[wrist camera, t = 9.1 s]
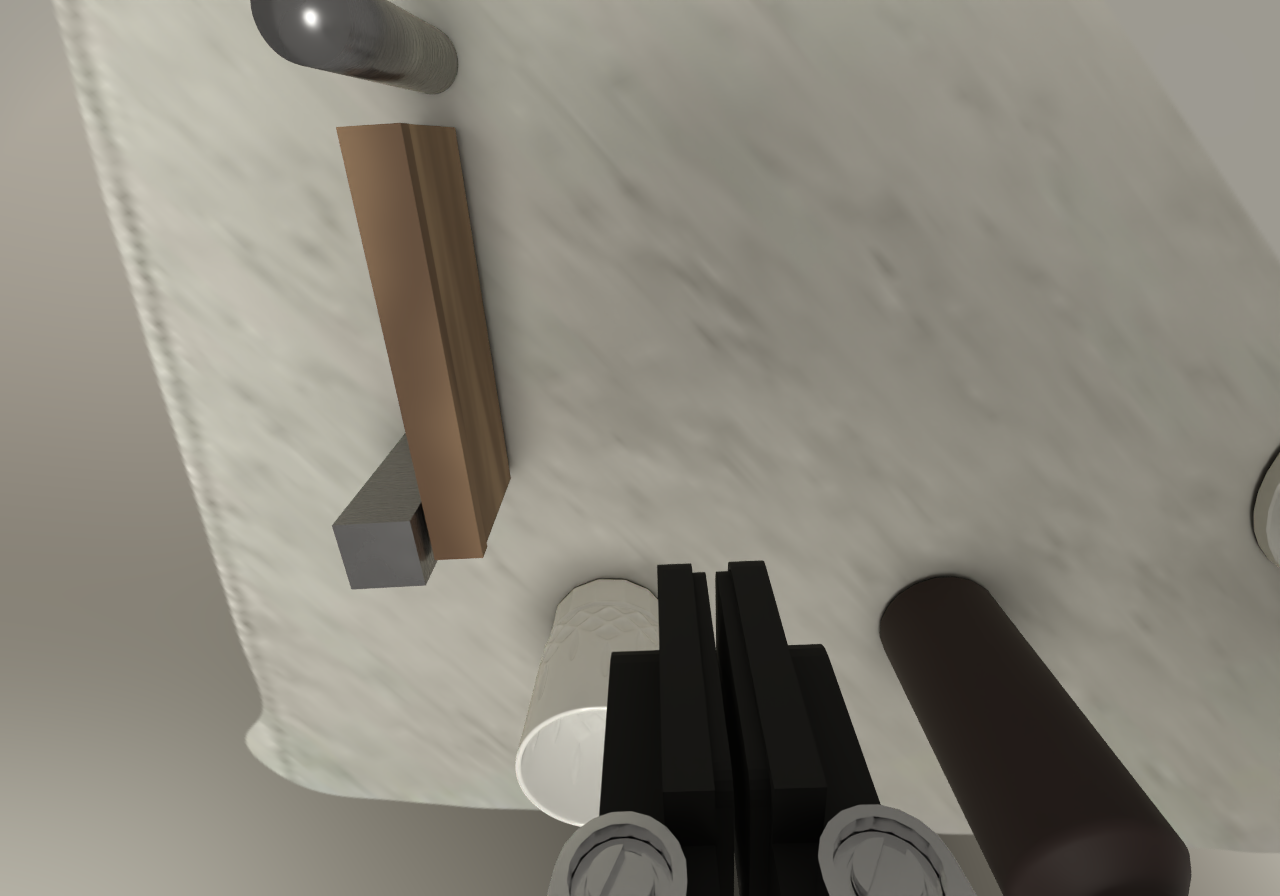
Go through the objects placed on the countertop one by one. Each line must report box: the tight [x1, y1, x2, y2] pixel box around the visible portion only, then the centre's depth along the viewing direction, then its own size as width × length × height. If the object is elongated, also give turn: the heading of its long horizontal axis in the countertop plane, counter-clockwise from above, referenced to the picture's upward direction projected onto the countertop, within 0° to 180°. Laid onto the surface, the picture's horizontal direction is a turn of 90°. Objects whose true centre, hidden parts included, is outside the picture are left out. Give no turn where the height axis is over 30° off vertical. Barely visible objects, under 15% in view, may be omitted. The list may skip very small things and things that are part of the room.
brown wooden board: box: [336, 123, 511, 560], centre depth 27 cm, size 2×16×7 cm, turn 3°
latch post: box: [332, 433, 438, 589], centre depth 30 cm, size 3×3×9 cm
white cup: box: [515, 579, 659, 827], centre depth 34 cm, size 8×8×10 cm
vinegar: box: [880, 577, 1191, 896], centre depth 29 cm, size 7×7×20 cm
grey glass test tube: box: [250, 0, 458, 94], centre depth 21 cm, size 2×2×11 cm
